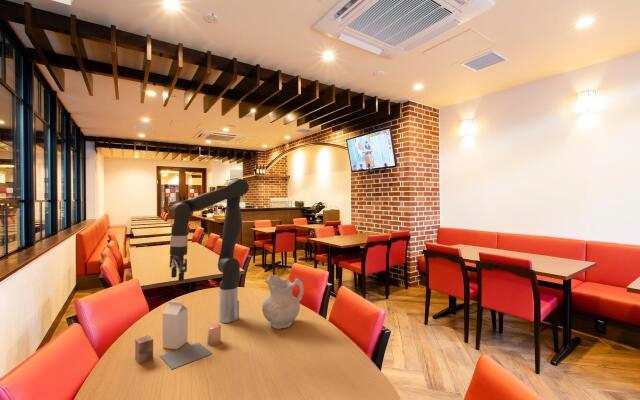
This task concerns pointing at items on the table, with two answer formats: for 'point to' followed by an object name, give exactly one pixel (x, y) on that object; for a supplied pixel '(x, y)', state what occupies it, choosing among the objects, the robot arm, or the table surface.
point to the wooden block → (143, 349)
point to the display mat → (185, 355)
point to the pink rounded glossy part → (214, 335)
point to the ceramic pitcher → (282, 302)
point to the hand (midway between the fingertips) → (177, 279)
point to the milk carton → (175, 325)
